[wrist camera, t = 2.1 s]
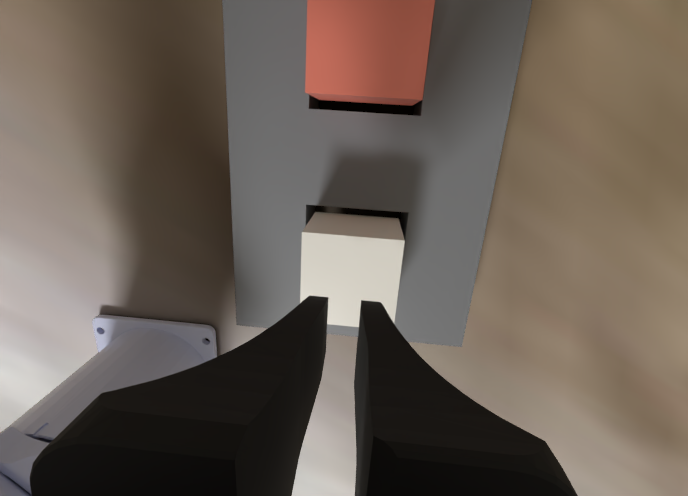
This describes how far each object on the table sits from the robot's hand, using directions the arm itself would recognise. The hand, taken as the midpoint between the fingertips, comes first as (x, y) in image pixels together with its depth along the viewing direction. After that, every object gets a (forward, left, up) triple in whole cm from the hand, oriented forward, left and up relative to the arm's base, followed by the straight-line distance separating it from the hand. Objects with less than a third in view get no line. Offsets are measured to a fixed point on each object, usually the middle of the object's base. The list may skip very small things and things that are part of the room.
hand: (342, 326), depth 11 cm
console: (+5, 0, -9) cm, 10 cm away
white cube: (0, 0, -7) cm, 7 cm away
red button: (+9, 0, -7) cm, 11 cm away
